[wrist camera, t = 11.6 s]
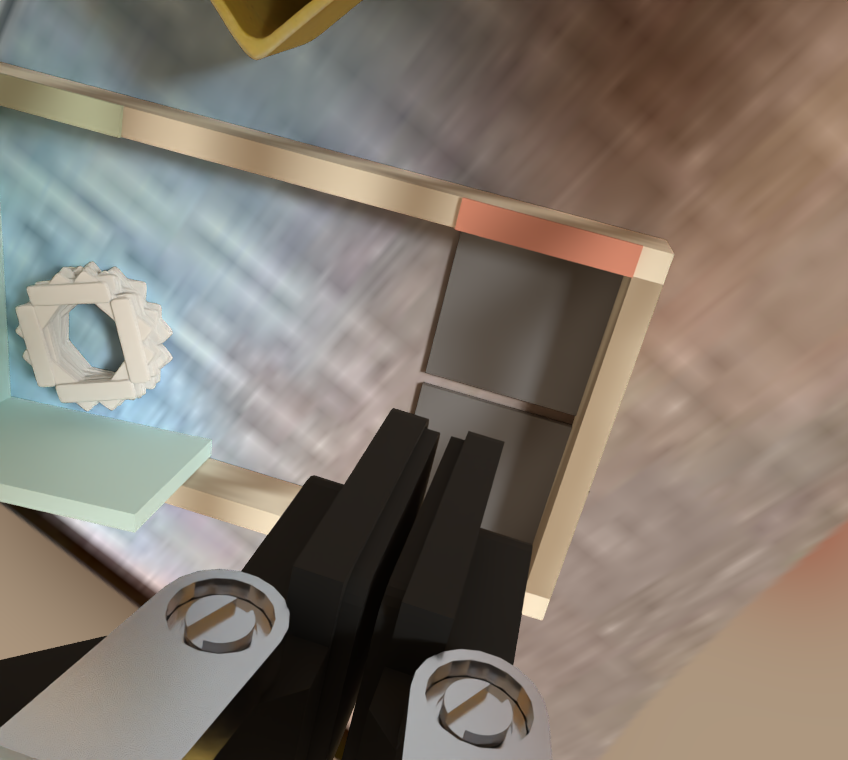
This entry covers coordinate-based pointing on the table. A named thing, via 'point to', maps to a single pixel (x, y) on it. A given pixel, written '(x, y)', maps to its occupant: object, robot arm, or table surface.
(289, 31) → the flower pot
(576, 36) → the table surface
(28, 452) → the l-shaped corner panel
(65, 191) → the table surface
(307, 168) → the box
